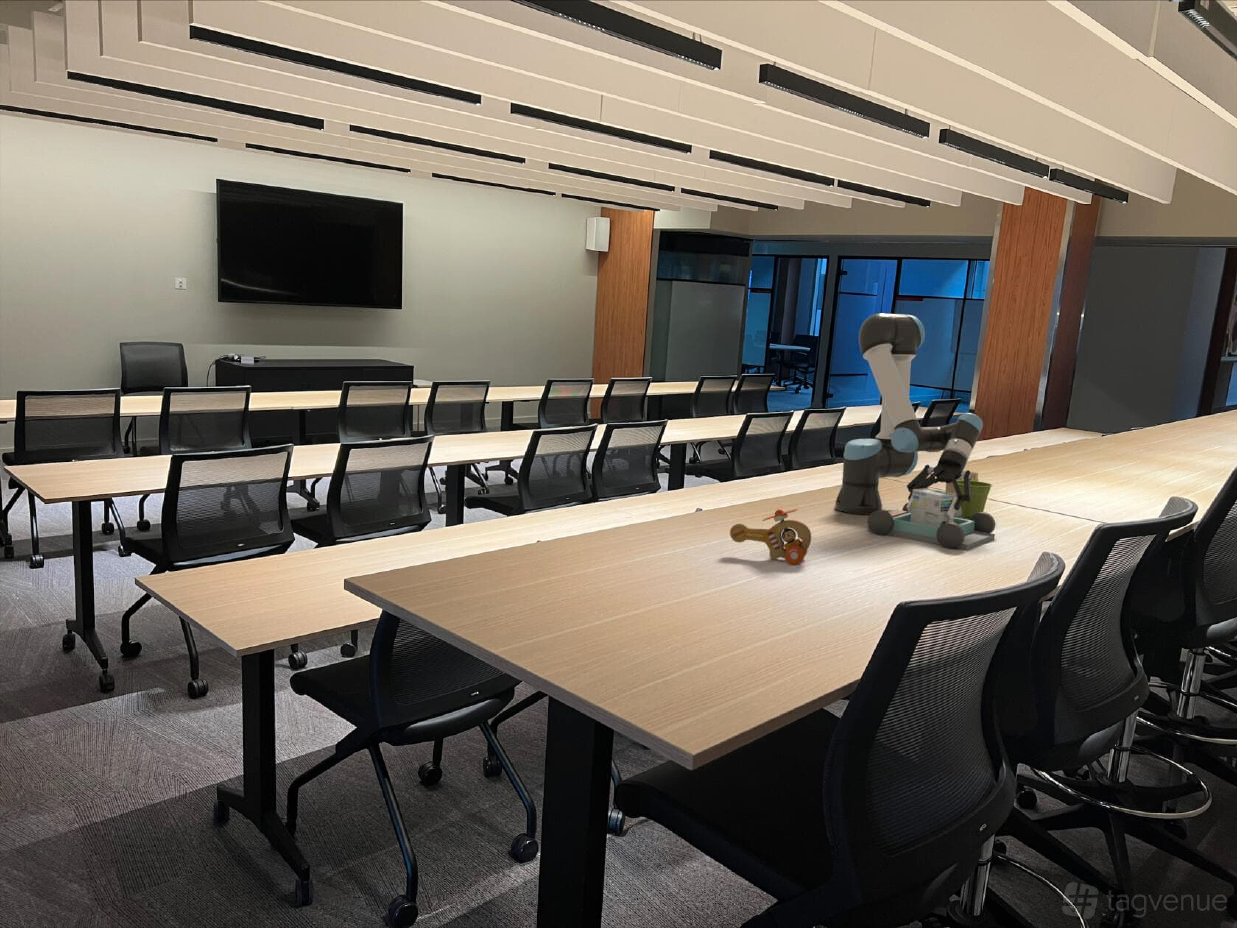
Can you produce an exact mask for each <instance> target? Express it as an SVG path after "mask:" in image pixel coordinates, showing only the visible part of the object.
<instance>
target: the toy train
mask: <svg viewBox="0 0 1237 928" xmlns="http://www.w3.org/2000/svg"><path fill="white" fill-rule="evenodd" d="M966 471H967V470H963V471H962V472H966ZM970 473H971V476H972V477H971V480H970V481H979V473H978V472H974V471H970ZM957 480H964V479H963V476H961V477H960V478H958V479H957ZM957 480H956V481H957ZM944 492H948V493H953V494H956V497H957V493H956V491H955V488H954V486H953V483H952V482H951V483H950V484H949V483H945V491H944Z"/></svg>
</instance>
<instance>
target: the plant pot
mask: <svg viewBox="0 0 1237 928" xmlns="http://www.w3.org/2000/svg"><path fill="white" fill-rule="evenodd" d="M957 484H958V486H959V489H960V491H961V494H962V495H965V491H964V480H957ZM993 485H994V484H992V483H990V482H985V481H979V480H978V481H970V494H971V501H969V502H968V501H963V502H962V504H961V509H962V514H961V517H962V518H969V519H970V517H971V516H972V515H974V514H976V513H979V512H985V507H986V503H987V499H988V496H989V494H990V490H991V488H992V487H993ZM957 498H958V496H957Z"/></svg>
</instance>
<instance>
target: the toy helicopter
mask: <svg viewBox="0 0 1237 928" xmlns="http://www.w3.org/2000/svg"><path fill="white" fill-rule="evenodd" d="M797 511H799V509H792V510H791V509H790V510H786V511H783V509H777V510H775V512H774V514H773V515H771V516H768V517H765V518H763V519H762V520H761V521H762V522H765V521H767V520H771V519H774V520H773V521H774V522H777V523H776V524H774V525H773V526H772V527H770V528H751V527H748V526H747V525H746V524H744V523H736V524H734V525H733V526H732V527H731V528H730V529H729V536H730V538H731V539H732V541H733V542H736V543H744V542H745V541H754V542H758V543H759V542H761V543H765V544H766V546H767V548H768V549H769V558H771V560H774V559H775V560H777V559H779V558H782V559H785V560H786V561H787V562H788V563H789V564H791V565H795V566H796V565H799V564H801V563H802V562H803V561H804V559H805V558H806V557H805V556H806V555H807V554H808V549H809V547H810V545H811V542H812V533H811V530H810V528H809V527H808V526H807V524H805V523H804V522H802V521H799V520H794V519H788V520H785V519H787V518H788V517H789V514H790V513H794V512H797Z"/></svg>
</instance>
